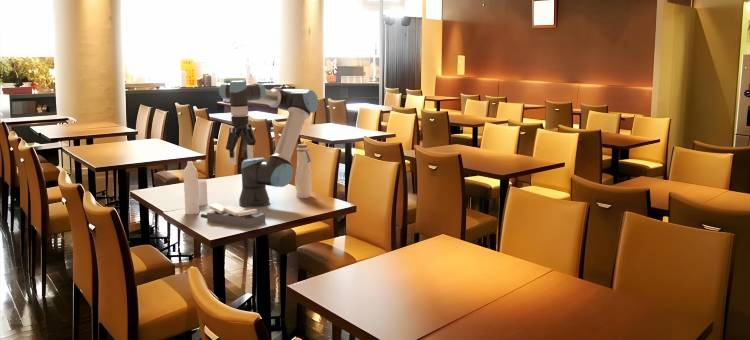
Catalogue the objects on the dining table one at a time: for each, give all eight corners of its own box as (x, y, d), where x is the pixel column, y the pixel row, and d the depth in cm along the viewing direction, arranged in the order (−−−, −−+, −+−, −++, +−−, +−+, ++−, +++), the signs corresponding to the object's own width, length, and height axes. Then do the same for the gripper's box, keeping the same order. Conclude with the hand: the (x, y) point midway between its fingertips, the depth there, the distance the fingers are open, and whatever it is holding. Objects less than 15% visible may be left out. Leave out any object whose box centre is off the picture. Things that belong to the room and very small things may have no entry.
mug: (181, 206, 304) (180, 182, 302) (198, 201, 315) (197, 178, 312) (194, 208, 301) (193, 184, 298) (210, 203, 311) (209, 180, 309)
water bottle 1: (188, 215, 287) (185, 163, 283) (183, 212, 292) (180, 161, 288) (206, 212, 293) (203, 161, 288) (200, 209, 298) (198, 159, 293)
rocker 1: (216, 205, 281) (217, 203, 281) (228, 211, 279) (228, 208, 278) (209, 208, 277) (209, 205, 276) (221, 213, 274) (221, 211, 274)
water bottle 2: (317, 196, 328) (316, 144, 323) (306, 199, 321) (305, 146, 316) (302, 193, 334) (301, 142, 328) (291, 196, 326) (290, 144, 321)
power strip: (209, 213, 291) (208, 203, 290) (265, 222, 277) (264, 211, 276) (192, 219, 281) (192, 208, 280) (250, 228, 267) (249, 217, 266)
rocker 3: (245, 213, 274) (244, 210, 274) (257, 211, 271) (256, 208, 271) (237, 216, 270) (237, 213, 270) (250, 214, 267) (249, 211, 267)
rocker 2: (230, 207, 278) (230, 205, 277) (242, 213, 275) (243, 210, 275) (223, 210, 273) (223, 207, 273) (235, 216, 271) (235, 213, 270)
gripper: (248, 112, 288) (250, 156, 292) (215, 118, 265) (218, 166, 270) (261, 112, 285) (264, 157, 290) (230, 119, 263) (233, 167, 267)
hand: (242, 161), depth 280 cm, fingers open, 13 cm apart
